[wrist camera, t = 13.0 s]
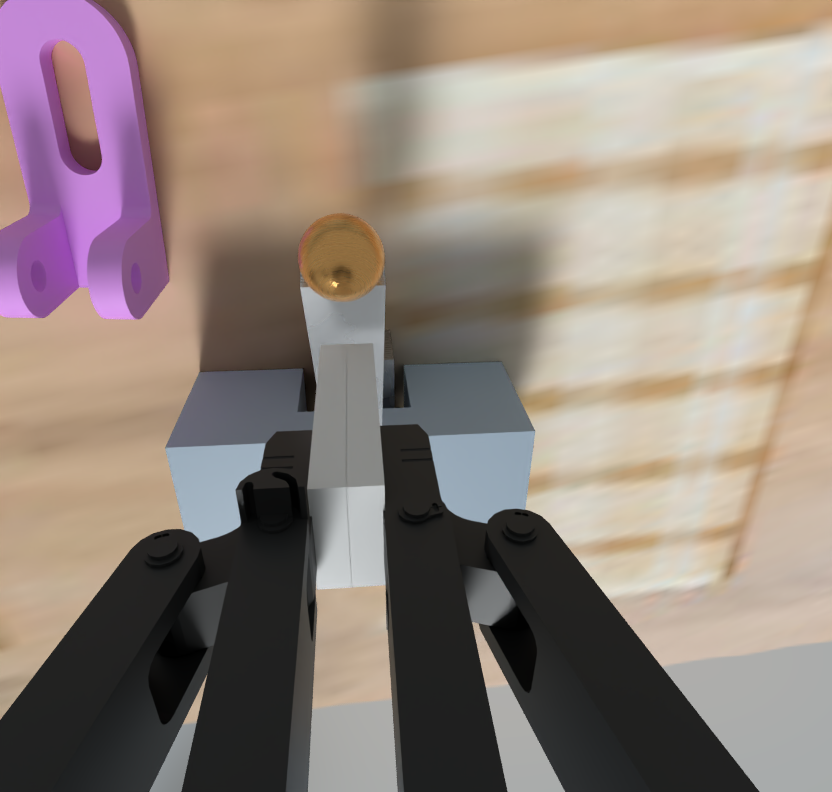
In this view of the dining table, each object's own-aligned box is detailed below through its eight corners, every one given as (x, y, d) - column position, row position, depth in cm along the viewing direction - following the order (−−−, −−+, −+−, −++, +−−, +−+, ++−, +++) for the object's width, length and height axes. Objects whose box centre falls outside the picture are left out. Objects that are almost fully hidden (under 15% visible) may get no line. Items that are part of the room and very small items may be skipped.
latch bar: (329, 429, 29) (330, 476, 28) (293, 194, 16) (292, 264, 15) (379, 427, 30) (381, 473, 28) (383, 193, 17) (387, 262, 15)
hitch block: (217, 468, 39) (190, 556, 33) (199, 372, 36) (165, 447, 29) (493, 455, 41) (521, 536, 34) (501, 361, 37) (535, 431, 31)
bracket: (170, 280, 33) (131, 332, 27) (61, 277, 33) (-4, 330, 27) (128, -6, 27) (65, -20, 21) (-9, -16, 26) (-114, -33, 20)
